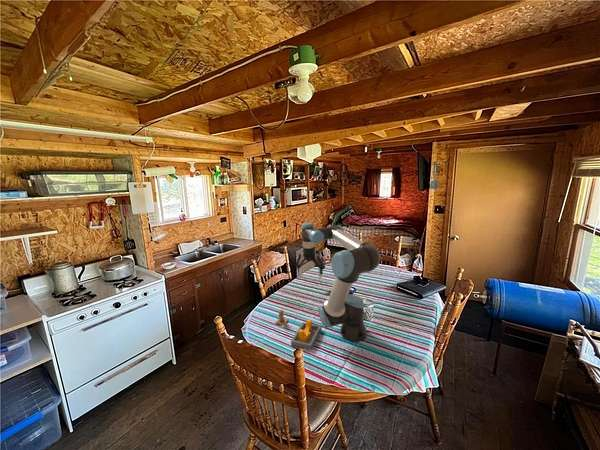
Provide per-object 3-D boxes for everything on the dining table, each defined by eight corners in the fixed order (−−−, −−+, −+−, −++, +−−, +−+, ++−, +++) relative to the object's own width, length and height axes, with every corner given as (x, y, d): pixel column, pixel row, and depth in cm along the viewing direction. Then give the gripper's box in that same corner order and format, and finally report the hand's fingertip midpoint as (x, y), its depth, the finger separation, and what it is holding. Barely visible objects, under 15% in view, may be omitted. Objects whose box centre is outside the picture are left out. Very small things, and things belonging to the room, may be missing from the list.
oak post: (287, 320, 162) (287, 309, 160) (283, 325, 156) (283, 314, 155) (279, 318, 164) (278, 308, 162) (275, 324, 159) (274, 313, 157)
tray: (321, 330, 150) (321, 325, 149) (311, 350, 134) (311, 345, 133) (303, 326, 154) (302, 322, 154) (291, 345, 138) (290, 340, 138)
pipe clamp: (305, 343, 138) (305, 333, 137) (299, 340, 140) (298, 331, 139) (314, 330, 149) (314, 321, 147) (308, 328, 151) (307, 319, 149)
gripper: (329, 246, 156) (330, 277, 160) (293, 243, 165) (295, 273, 170) (325, 249, 149) (327, 282, 153) (288, 247, 158) (291, 277, 163)
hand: (310, 277), depth 162 cm, fingers open, 13 cm apart
